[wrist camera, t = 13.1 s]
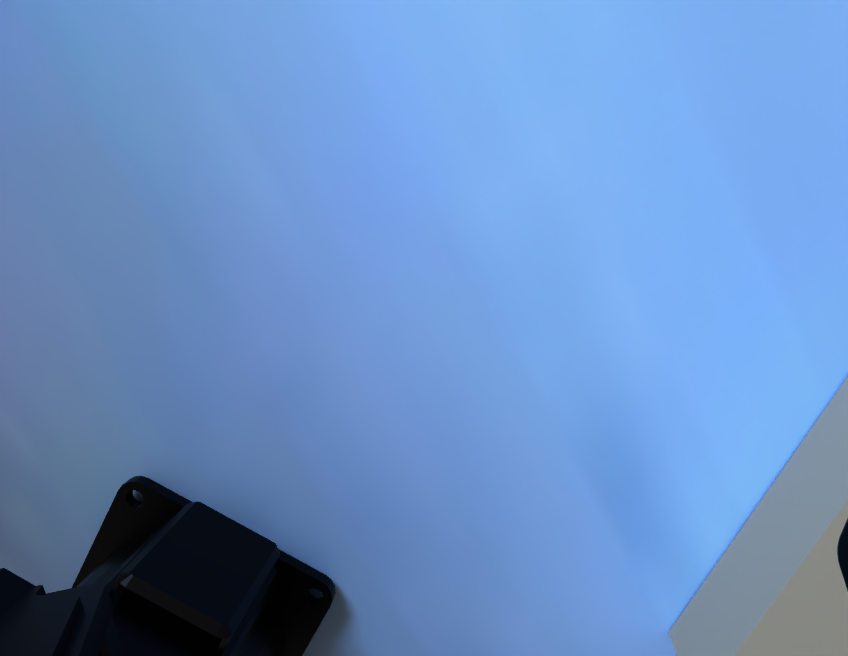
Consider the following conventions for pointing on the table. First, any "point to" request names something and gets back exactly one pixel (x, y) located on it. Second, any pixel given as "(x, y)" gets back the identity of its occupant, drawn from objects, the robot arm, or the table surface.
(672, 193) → the table surface
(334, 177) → the table surface
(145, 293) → the table surface
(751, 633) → the socket block
